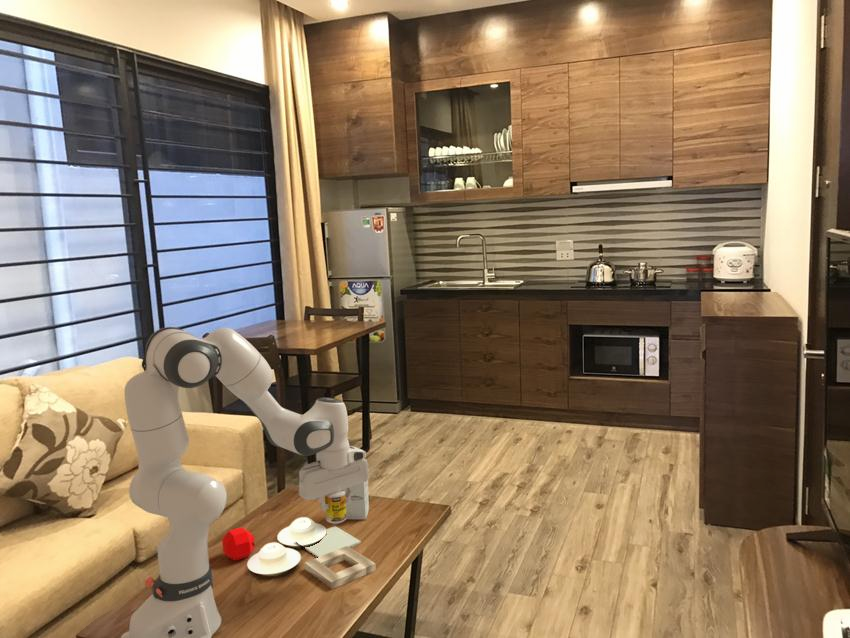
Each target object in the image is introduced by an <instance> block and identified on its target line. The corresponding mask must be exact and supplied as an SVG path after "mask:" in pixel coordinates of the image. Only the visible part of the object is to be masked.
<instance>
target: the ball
mask: <svg viewBox="0 0 850 638" xmlns="http://www.w3.org/2000/svg"><path fill="white" fill-rule="evenodd" d="M221 542H222V551H223V552H224V554H225V555H226V556H227V558H230V559H231V560H233V561H235V562H236V561H239V560H242V559H245V558H249V556H250V555H251V554H252V552H253V551H254V550H255V548H256V547H255V536H254V535H253V534H252V533H251V532H250V531H249V530H247V529H245V527H242V526H241V527H237V528H233V529H230V530H228V531H227V533H226V534H225V535H224V536H223V538H222V541H221Z"/></svg>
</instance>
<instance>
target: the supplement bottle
mask: <svg viewBox="0 0 850 638" xmlns="http://www.w3.org/2000/svg"><path fill="white" fill-rule="evenodd" d="M324 502H326V503H328V504H329V506H328V507H329V509H328V510H326V511H325V520H326V521H327V523H330V524H340V523H343V522H344V521H346V520H347V519H346V517H347V515H346V494H345V490H344V489H343V490H340V486H337V491H336V492H334V493H331V494H328V495H325V499H324Z"/></svg>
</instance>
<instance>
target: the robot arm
mask: <svg viewBox="0 0 850 638" xmlns="http://www.w3.org/2000/svg"><path fill="white" fill-rule="evenodd" d="M141 367H142V369H143V371H142V372H140V373H137V374H136V375H133V376H132V377H131V378H130V379H129V380H128V381H126V384H125V386H124V391H123V392H124V403H125V404H124V405H125V411H126V415H127V419H128V424H129V427H130V432H131V435H132V438H133V441H134V445H135V449H136V452H137V458H138V468H137V469H138V470H137V472H136V473H135V474H134V476H133V477H132V479H131V481H130V483H129V488H128V494H129V498H130V500H131V502H132V503H133V504H134V505H135V506H137V507H139V509H142V510H143V511H145V512H147V513H149V514H152V515H157V516H161V517H165V518H167V520H168V522H169V530H168V533H166V534H165V535H164V536H163V537H162V538H161V539H160V540H159V543H157V544H158V545H157V547H156V549H157V552H156V553H157V559H158V568H159V569H158V570H159V575H158V577H157V578H156V580H155V579H154V578H153V577H151V576H149V577H147V578H146V579H145V580H144V581H145V582H144V584H145V585H146V587H147V588H148V589H152V594H151V595H150V596H149V597H148V598H147V599H146V600H145V601H144V602H143V603H142V604H141V605H140V606H139V607H138V608H137V609H136V610H135V611H134V612H133V613H132V615H131V617H130V621H129V630H128V631H126V632H124V633H123V634H121V636H120V638H212V636H213V635H214V633H216V632H217V630H218V629H220V626H221V624H222V616H221V614H220V613H219V610H218V607H217V604H216V601H215V596H214V591H213V588H214V577H213V576H214V575H213V570H212V566H211V564H210V561H209V559H210V558H209V532H210V528H211V526H212V524H213V522H215V521H216V520H217V519H218V518H219V517H221V515H222V513H223V511H224V510H225V507H226V505H227V501H228V500H227V499H228V496H227V489H226V488H225V485H224V484H223V483H222V482H221V481H219V480H217V479H216V478H213V477H211V476H210V475H207V474H204V473H200V472H195V471H190V470H186V469H185V468H184V467H183V466H182V463H181V456H182V455H184V453H186V451H187V450H188V447H189V445H190V439H189V438H190V437H189V434H188V430H187V427H186V424H185V420H184V415H183V411H182V409H181V406H180V402H179V389H180V388H182V389H183V388H184V389H193V388H198V387H201V386H202V385H204V384H205V383H206V382H208V381H209V380H211V378H213V377H216V378H217V379H218V380H219V381H220V383H222V385H224V386H225V388H227V390H229V391H230V392H231V393H232V394H233V395H234V396H235V397H237V398H238V399H240V400H241V401H242V402H243V403H245V405H246V406H247V407H248V409H249V410H250V411H251V412H252V413H253V415H255V417H256V418H257V419H258V420H259V422H261V425H262V427H263V431H264V434H265V436H266V438H267V440H268V441H269V443H270V444H271V445H272V446H274V447H278V448H282V449H285V450H287V451H289V452H293V453H296V454H298V455H300V456H305V457H309V456H313V455H316V461H314V462H311V463H306V464H304V465H303V466H302V467H301V468H300V470H299V471H298V477H299V478H298V480H299V482H298V483H299V484H298V485H299V486H298V495H299V497H301V499H303V500H305V501H307V502H309V501H311V500H315V499H316V500H317V501H318V503H319V504H320V505H319V506H320V510H321V511H322V512H326V510H328V509H329V507H328V506H329V504H328V503H326V502H325V495H328V494H331V493H334V492H336V491H337V486H340V490H343V489H347V490H346V493H345V494H346V503H349V502H351V497H350V496H351V495H352V493H353V490H354V486H356V485H359V484H362V483H365V482H367V480H368V481H369V477H370V472H369V470H370V469H369V464H368V461H367V459H366V457H367V452H366V451H365V450H364V449H361V448H359V447H356V446H353V445H350V442H349V439H348V436H349V435H348V433H349V417H348V410H347V407H346V404H345V402H344V401H342V400H341V399H338V398H334V397H320V398H317V399H316V400H315V403H314V404H313V405H312V407H311V408H310V409H309V410H307V411H306V412H305V413H304V414H300V413H297V412H295V411H293V410H290V409H287V408H284V407H282V406H281V405H280V403H279V402H277V400H276V399H275V397H274V396H273V395H272V394H271V393H270V392H269V391H268V390H269V388H270V387H271V385H272V382H273V379H274V372H273V369H272V368H271V366H270V364H269V363H268V361H267V360H266V359H265V357H264V356H263V355H262V354H261V353H260V352H259V351H258V350H257V348H256V347H255V346H253V344H252V343H251V342H249V341H248V340H247V339H246V338H245V337H243V336H242V335H241V333H239V332H237V331H236V330H235V329H232V328H230V327H220V328H217V329H215V330H212V332H210V333H209V334H207V335H206V336H205V337H203V338H198V337H196V336H195V335H194V334H192V333H190V332H187V331H185V330H184V329H181V328H179V327H174V326H173V327H172V326H169V327H167V326H166V327H161V328H160V329H157V330H155V331H154V332H152V334H150V336H149V338H148V339H147V343H146V346H145V351H144V355H143V359H142V361H141Z"/></svg>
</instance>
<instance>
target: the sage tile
mask: <svg viewBox="0 0 850 638" xmlns="http://www.w3.org/2000/svg"><path fill="white" fill-rule="evenodd" d="M325 530H327V535H326V536H325V537H324V538H323V539H322V540H321V541H320V542H319V543H317V544H315V545H313V546H310V547H305V549H304V550H306V551H307V552H308V553H310V554H311V553H312V555H313V556H314V555H315V556H314V557H315V558H317V557H320V556H323V555H325V554H328V553H330V552H333V551H335V550H338V549H341V548H343V547H346V546H348V547H350V548H352V547H355V546H358V545H361V544H362V541H361V540H360V539H358V538H357V537H355V536H353V535H351V534H349V533H348V532H346V531H345V530H342V529H341V528H339V527H338V526H336V525H334V526H331V527H328V528H326V529H325Z"/></svg>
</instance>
